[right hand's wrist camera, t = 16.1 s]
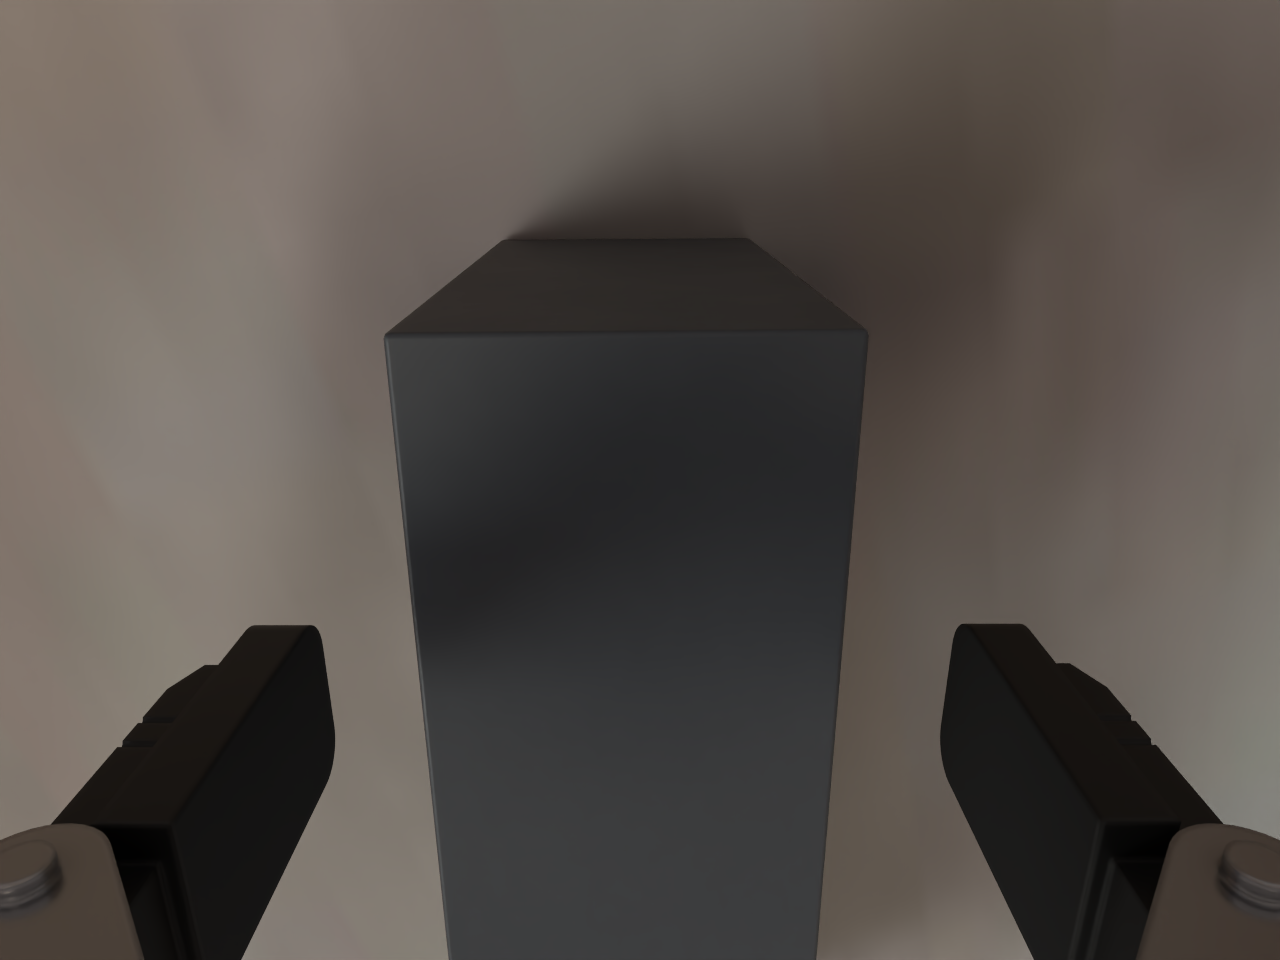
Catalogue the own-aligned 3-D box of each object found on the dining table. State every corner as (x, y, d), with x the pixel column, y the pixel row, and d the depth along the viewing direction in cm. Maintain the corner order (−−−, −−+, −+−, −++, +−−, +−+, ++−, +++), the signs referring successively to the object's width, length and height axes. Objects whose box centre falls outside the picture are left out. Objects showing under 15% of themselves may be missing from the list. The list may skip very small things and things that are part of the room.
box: (500, 239, 21) (380, 333, 11) (750, 237, 21) (870, 330, 11) (544, 1004, 30) (500, 1467, 20) (722, 1001, 30) (774, 1461, 20)
